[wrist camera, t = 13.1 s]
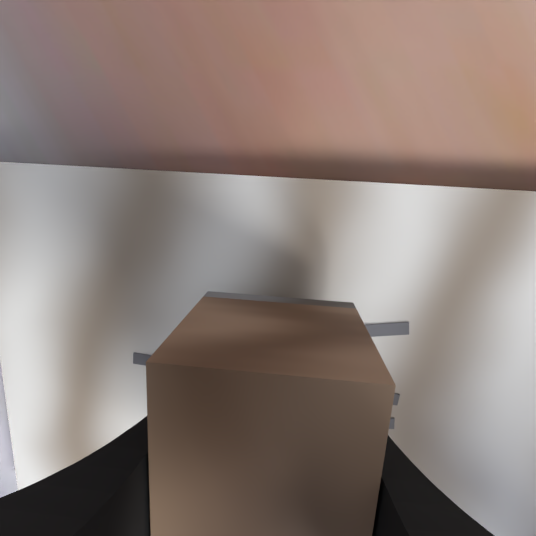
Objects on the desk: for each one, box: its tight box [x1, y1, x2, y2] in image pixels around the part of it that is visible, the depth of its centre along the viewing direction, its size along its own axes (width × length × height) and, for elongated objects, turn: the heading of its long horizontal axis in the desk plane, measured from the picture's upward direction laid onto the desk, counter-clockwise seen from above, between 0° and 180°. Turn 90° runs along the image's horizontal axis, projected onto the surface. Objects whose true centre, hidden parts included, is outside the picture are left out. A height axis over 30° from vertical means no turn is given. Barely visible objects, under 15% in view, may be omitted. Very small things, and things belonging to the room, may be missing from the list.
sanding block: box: [146, 291, 396, 536], centre depth 10 cm, size 5×9×5 cm, turn 177°
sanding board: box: [0, 162, 536, 536], centre depth 14 cm, size 24×16×1 cm, turn 87°
